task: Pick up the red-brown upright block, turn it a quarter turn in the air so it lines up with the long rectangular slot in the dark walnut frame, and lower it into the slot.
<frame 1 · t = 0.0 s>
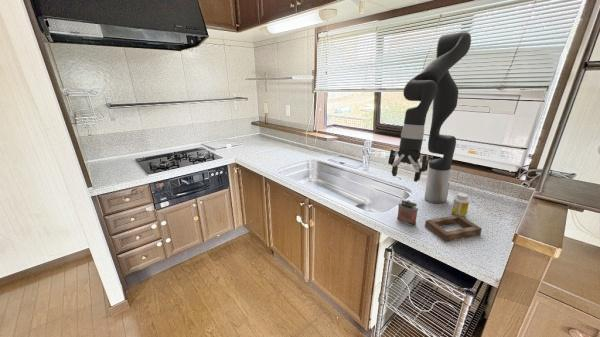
hand: (404, 178, 94), 22 cm above the worktop, tool pointing down, fingers open, 8 cm apart
slot block: (451, 230, 98), on the worktop
supplement bottle: (458, 215, 109), on the worktop
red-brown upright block: (406, 222, 106), on the worktop
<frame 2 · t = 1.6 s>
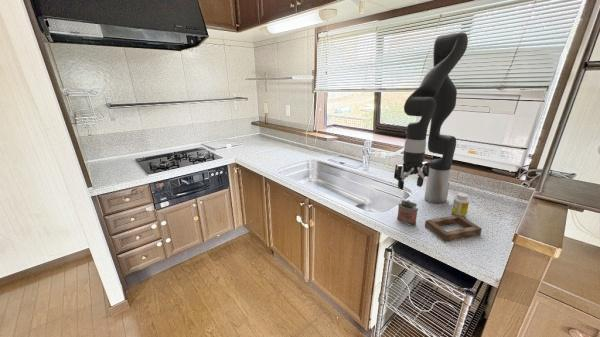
hand: (409, 187, 101), 16 cm above the worktop, tool pointing down, fingers open, 8 cm apart
nothing on the worktop moved.
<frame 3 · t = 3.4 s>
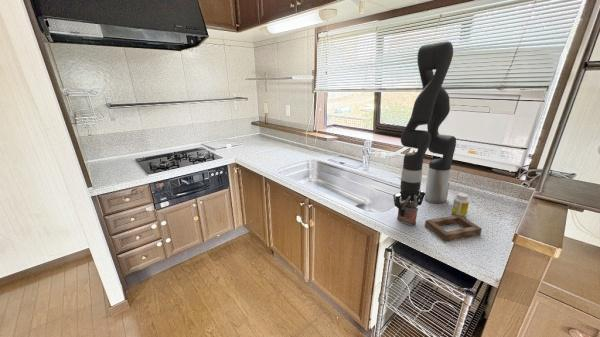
hand: (406, 214, 105), 3 cm above the worktop, tool pointing down, fingers closed on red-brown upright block, 4 cm apart
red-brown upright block: (406, 221, 106), on the worktop, touching gripper
everything else where it was.
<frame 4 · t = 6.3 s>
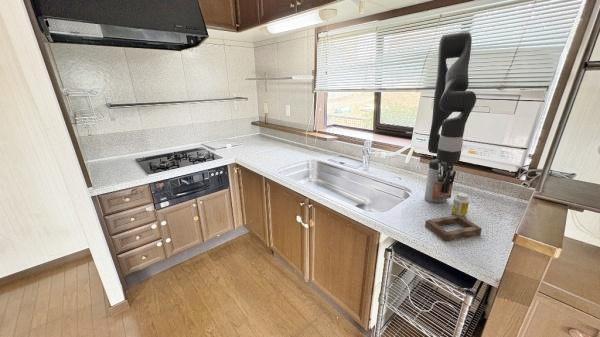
hand: (442, 189, 95), 17 cm above the worktop, tool pointing down, fingers closed on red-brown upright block, 4 cm apart
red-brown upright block: (441, 198, 96), point 14 cm above the worktop, touching gripper
everything else where it was.
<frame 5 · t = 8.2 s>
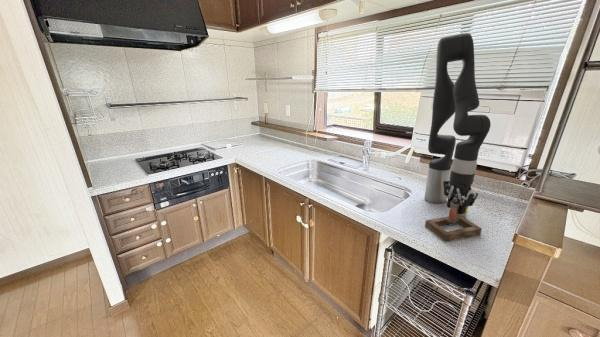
hand: (455, 210, 95), 9 cm above the worktop, tool pointing down, fingers closed on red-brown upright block, 4 cm apart
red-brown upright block: (453, 218, 97), point 6 cm above the worktop, touching gripper
everything else where it was.
when the fingers open (4 cm above the worktop, at t = 9.7 s): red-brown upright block stays where it is, resting in slot block.
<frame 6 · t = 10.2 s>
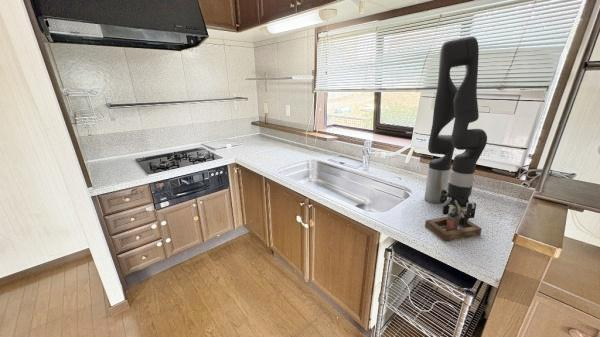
hand: (453, 219, 97), 5 cm above the worktop, tool pointing down, fingers open, 8 cm apart
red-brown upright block: (451, 230, 99), resting in slot block
everything else where it was.
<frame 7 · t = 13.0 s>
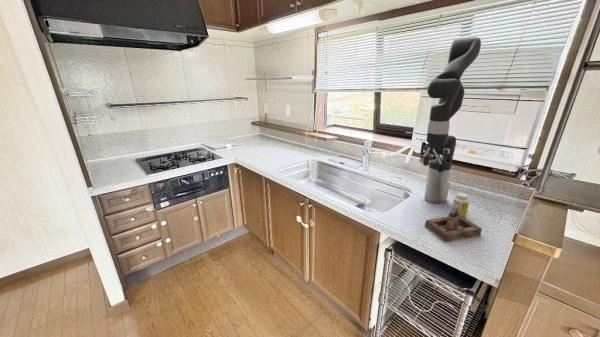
hand: (432, 168, 104), 22 cm above the worktop, tool pointing down, fingers open, 8 cm apart
nothing on the worktop moved.
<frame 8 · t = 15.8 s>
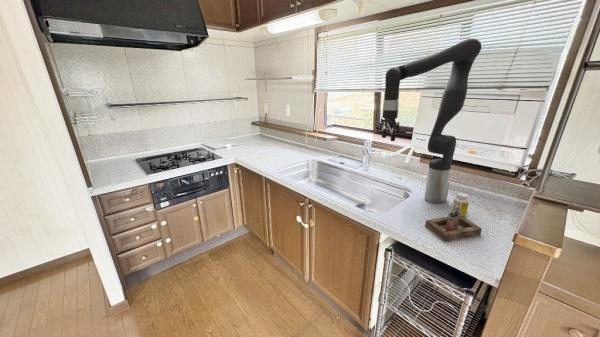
hand: (388, 139, 132), 28 cm above the worktop, tool pointing down, fingers open, 8 cm apart
nothing on the worktop moved.
at the end: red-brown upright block 0.1 cm off-centre on the slot block, point 0.0 cm above the slot block's base; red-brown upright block tilted 0°; the gripper is holding nothing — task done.
